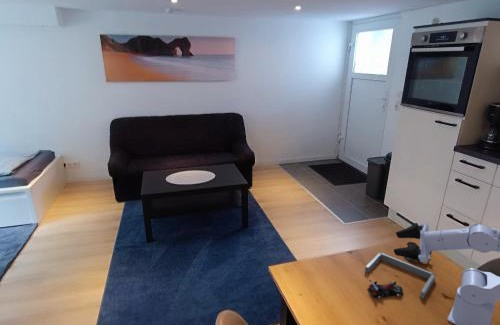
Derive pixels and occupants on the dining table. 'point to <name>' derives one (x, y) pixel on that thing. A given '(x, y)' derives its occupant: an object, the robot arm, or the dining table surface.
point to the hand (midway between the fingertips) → (395, 243)
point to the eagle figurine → (418, 248)
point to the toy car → (384, 290)
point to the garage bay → (407, 267)
